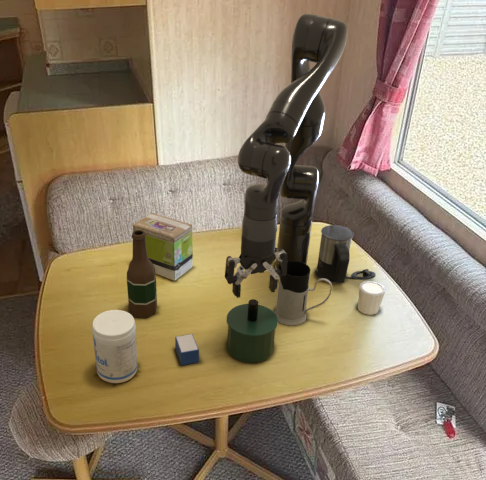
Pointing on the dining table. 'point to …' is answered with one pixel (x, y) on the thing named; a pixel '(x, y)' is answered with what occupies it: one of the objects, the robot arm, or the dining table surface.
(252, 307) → the lid
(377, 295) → the white ribbed cup
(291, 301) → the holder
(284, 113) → the robot arm
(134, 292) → the beer bottle
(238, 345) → the pot
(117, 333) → the supplement tub
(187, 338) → the cream cheese
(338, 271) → the milk frother
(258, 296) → the dining table surface
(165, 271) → the tea box
